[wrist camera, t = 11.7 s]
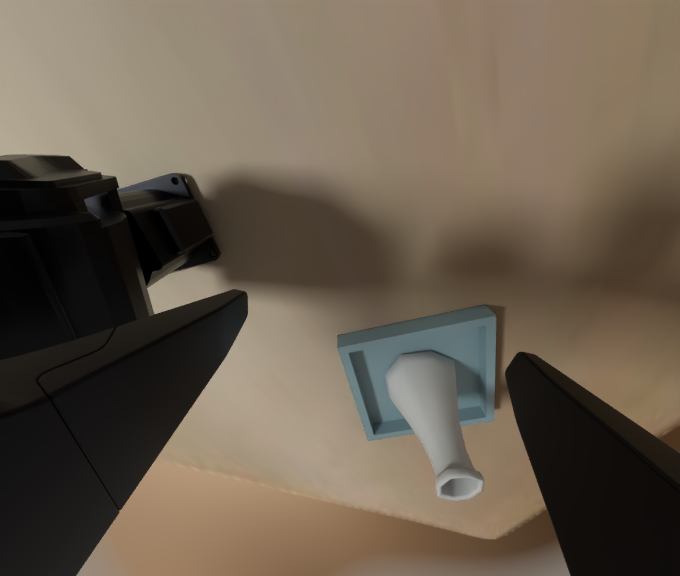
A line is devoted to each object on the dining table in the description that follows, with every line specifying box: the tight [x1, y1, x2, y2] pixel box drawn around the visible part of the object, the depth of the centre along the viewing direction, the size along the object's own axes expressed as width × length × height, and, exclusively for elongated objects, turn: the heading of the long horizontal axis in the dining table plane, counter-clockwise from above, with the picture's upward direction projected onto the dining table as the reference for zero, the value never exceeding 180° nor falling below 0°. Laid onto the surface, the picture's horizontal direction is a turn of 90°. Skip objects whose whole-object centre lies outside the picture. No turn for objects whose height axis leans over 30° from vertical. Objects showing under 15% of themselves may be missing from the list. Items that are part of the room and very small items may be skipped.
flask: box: [385, 351, 484, 501], centre depth 22 cm, size 7×7×10 cm
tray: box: [337, 305, 496, 441], centre depth 26 cm, size 14×14×2 cm
